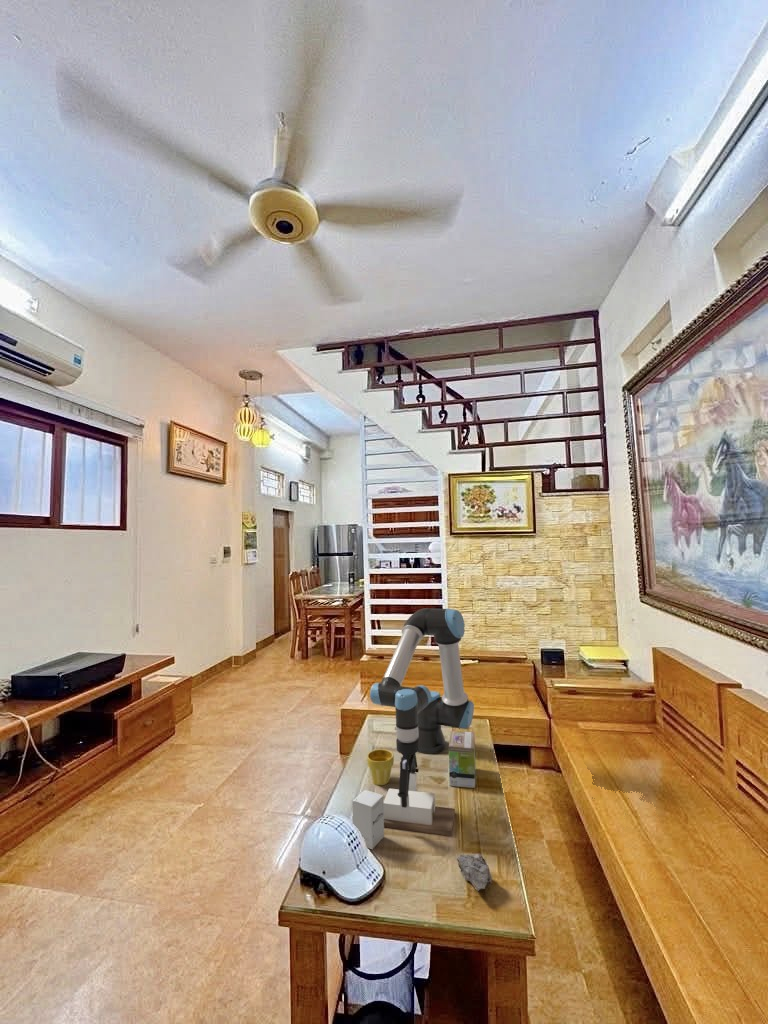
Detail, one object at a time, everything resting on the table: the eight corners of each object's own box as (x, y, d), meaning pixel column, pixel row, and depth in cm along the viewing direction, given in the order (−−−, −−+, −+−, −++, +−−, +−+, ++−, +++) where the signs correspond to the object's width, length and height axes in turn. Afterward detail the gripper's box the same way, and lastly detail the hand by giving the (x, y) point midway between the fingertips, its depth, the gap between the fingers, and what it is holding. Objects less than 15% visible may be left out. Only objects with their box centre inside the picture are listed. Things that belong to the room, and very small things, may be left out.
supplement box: (372, 851, 131) (371, 807, 132) (352, 842, 135) (351, 800, 136) (385, 836, 138) (384, 794, 139) (365, 829, 142) (364, 788, 143)
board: (386, 804, 155) (386, 791, 155) (454, 813, 149) (454, 799, 149) (377, 826, 143) (377, 811, 143) (451, 836, 137) (450, 820, 138)
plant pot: (391, 789, 165) (390, 762, 165) (364, 787, 167) (364, 760, 167) (396, 775, 175) (395, 749, 175) (371, 773, 177) (370, 748, 177)
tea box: (476, 788, 163) (474, 747, 165) (449, 786, 165) (447, 746, 167) (475, 768, 178) (474, 731, 179) (451, 766, 180) (449, 729, 181)
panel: (389, 803, 153) (389, 788, 153) (435, 808, 149) (434, 793, 149) (383, 819, 144) (382, 803, 145) (431, 825, 140) (430, 808, 141)
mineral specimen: (484, 900, 118) (451, 897, 116) (479, 863, 125) (447, 859, 123) (503, 890, 113) (468, 887, 111) (496, 852, 119) (463, 848, 117)
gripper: (403, 722, 162) (405, 782, 160) (387, 754, 137) (389, 825, 136) (424, 724, 160) (426, 785, 158) (411, 756, 136) (413, 828, 134)
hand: (409, 803), depth 147 cm, fingers open, 13 cm apart
